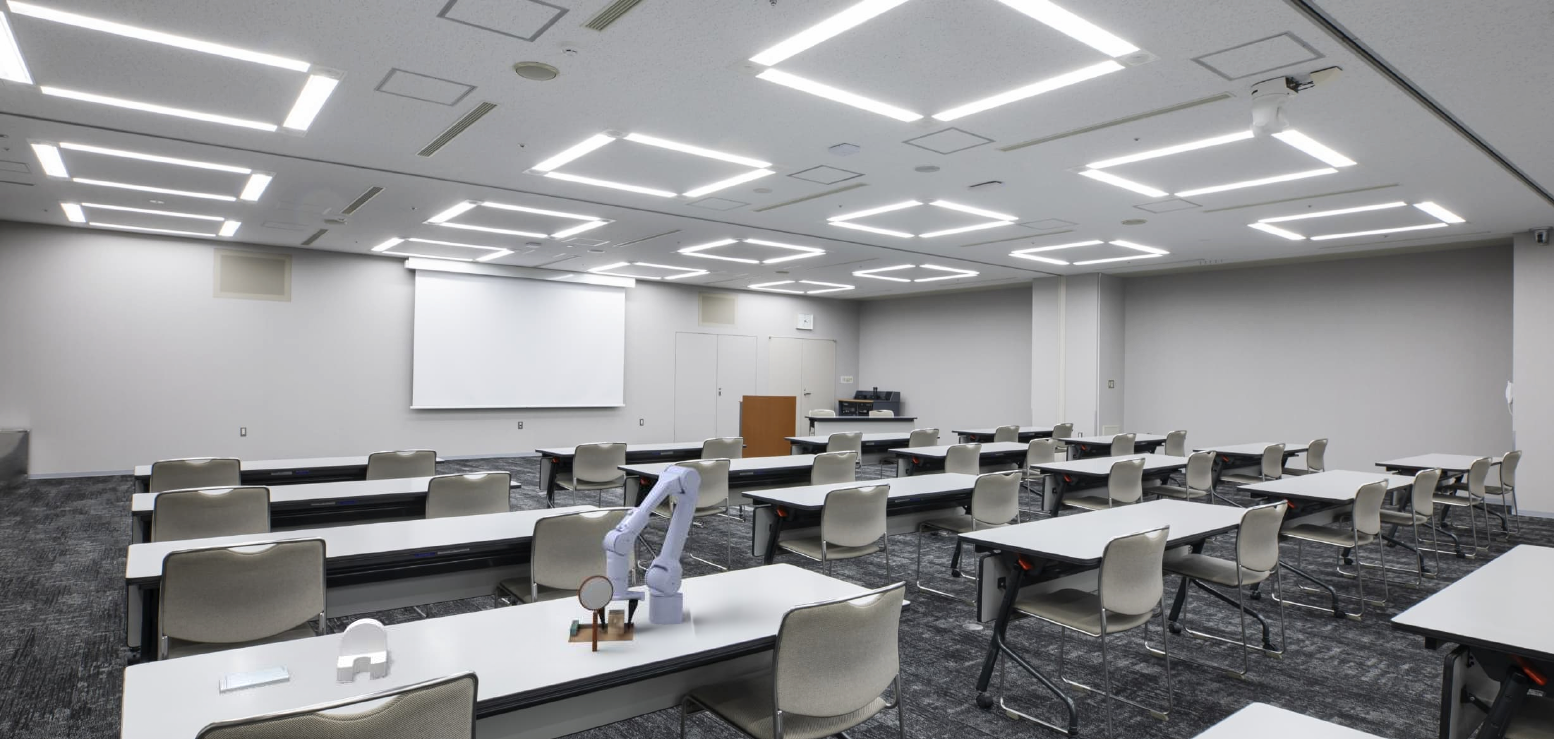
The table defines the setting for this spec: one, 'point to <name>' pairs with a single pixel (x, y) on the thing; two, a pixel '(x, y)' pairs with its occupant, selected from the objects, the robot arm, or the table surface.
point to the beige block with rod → (616, 622)
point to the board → (586, 630)
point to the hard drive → (254, 679)
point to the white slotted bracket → (363, 650)
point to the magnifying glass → (595, 599)
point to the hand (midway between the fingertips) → (616, 628)
